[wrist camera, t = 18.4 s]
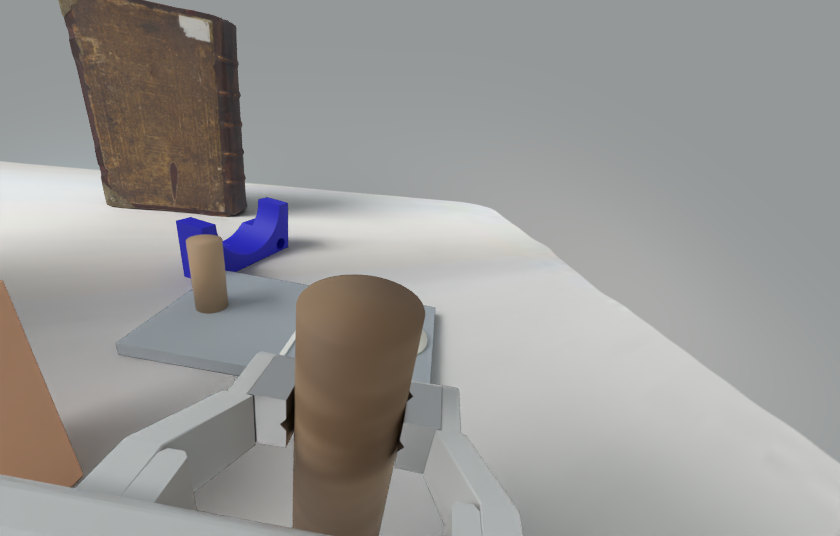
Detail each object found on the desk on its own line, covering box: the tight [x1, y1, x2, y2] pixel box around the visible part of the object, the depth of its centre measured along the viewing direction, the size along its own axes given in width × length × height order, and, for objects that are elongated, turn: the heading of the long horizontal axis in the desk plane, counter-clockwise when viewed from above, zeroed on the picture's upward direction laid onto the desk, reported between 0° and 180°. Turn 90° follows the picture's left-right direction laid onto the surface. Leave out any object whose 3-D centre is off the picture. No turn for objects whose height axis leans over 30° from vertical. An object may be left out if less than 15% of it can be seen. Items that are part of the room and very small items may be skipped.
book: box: [59, 0, 247, 216], centre depth 45 cm, size 17×7×25 cm, turn 93°
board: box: [116, 234, 435, 383], centre depth 28 cm, size 22×12×7 cm, turn 85°
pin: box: [293, 275, 425, 536], centre depth 10 cm, size 3×3×9 cm
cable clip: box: [176, 197, 288, 278], centre depth 38 cm, size 12×4×6 cm, turn 161°
